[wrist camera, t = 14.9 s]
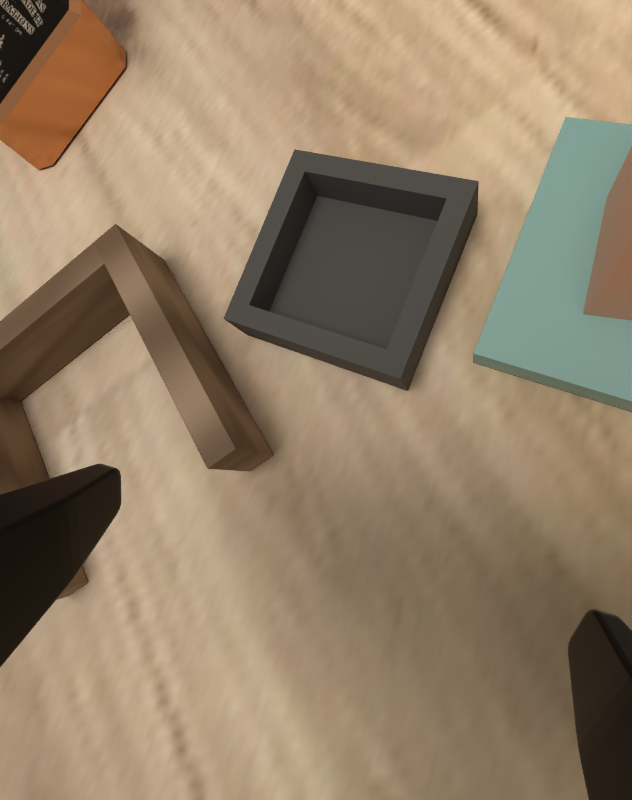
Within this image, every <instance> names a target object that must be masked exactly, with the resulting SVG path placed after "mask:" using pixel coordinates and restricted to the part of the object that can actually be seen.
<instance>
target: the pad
mask: <svg viewBox="0 0 632 800" xmlns="http://www.w3.org/2000/svg"><path fill="white" fill-rule="evenodd" d="M631 147H632V125H630V124H621V123H613V122H604V121H596V120H587V119H578V118H570V117H565V120H564V122H563V125H562V128H561V130H560V133H559V135H558V138H557V140H556V143H555V146H554V148H553V151H552V153H551V156H550V158H549V161H548V164H547V166H546V169H545V171H544V174H543V176H542V179H541V182H540V184H539V187H538V189H537V192H536V194H535V197H534V200H533V202H532V205H531V207H530V210H529V212H528V215H527V218H526V220H525V223H524V225H523V228H522V230H521V233H520V236H519V238H518V241H517V243H516V246H515V248H514V251H513V254H512V256H511V259H510V261H509V264H508V266H507V269H506V272H505V274H504V277H503V279H502V282H501V284H500V287H499V290H498V292H497V295H496V297H495V300H494V302H493V305H492V307H491V310H490V313H489V315H488V318H487V320H486V323H485V325H484V328H483V331H482V333H481V336H480V338H479V341H478V343H477V346H476V349H475V351H474V356H473V363H477V364H480V365H483V366H486V367H489V368H493V369H496V370H499V371H502V372H506V373H509V374H512V375H515V376H519V377H522V378H525V379H528V380H531V381H535V382H538V383H541V384H544V385H548V386H551V387H554V388H557V389H560V390H564V391H567V392H570V393H573V394H577V395H580V396H583V397H586V398H589V399H593V400H596V401H599V402H602V403H606V404H609V405H612V406H615V407H618V408H622V409H625V410H628V411H631V412H632V320H624V319H616V318H608V317H601V316H593V315H585V314H583V311H584V306H585V301H586V296H587V291H588V287H589V282H590V277H591V272H592V267H593V262H594V257H595V252H596V248H597V243H598V238H599V233H600V228H601V223H602V218H603V213H604V209H605V204H606V199H607V196H608V194H609V192H610V190H611V188H612V186H613V184H614V182H615V180H616V177H617V175H618V173H619V171H620V169H621V167H622V165H623V163H624V161H625V159H626V157H627V155H628V153H629V151H630V149H631Z"/></svg>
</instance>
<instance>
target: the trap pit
mask: <svg viewBox="0 0 632 800" xmlns="http://www.w3.org/2000/svg"><path fill="white" fill-rule="evenodd" d="M477 207H478V181H474V180H468V179H462V178H456V177H451V176H445V175H439V174H433V173H427V172H422V171H416V170H410V169H404V168H399V167H393V166H387V165H381V164H375V163H370V162H364V161H358V160H352V159H346V158H341V157H335V156H329V155H323V154H318V153H312V152H306V151H300V150H294V152H293V155H292V157H291V159H290V162H289V164H288V166H287V169H286V171H285V174H284V176H283V178H282V181H281V183H280V186H279V188H278V190H277V193H276V195H275V197H274V200H273V202H272V205H271V207H270V209H269V212H268V214H267V216H266V219H265V221H264V224H263V226H262V228H261V231H260V233H259V236H258V238H257V240H256V243H255V245H254V247H253V250H252V252H251V255H250V257H249V259H248V262H247V264H246V267H245V269H244V271H243V274H242V276H241V278H240V281H239V283H238V286H237V288H236V290H235V293H234V295H233V297H232V300H231V302H230V305H229V307H228V309H227V312H226V314H225V317H224V319H225V320H226V321H228V322H229V323H231V324H232V325H234V326H235V327H237V328H238V329H239V330H241V331H242V332H244V333H245V334H247V335H249V336H252V337H255V338H258V339H261V340H264V341H267V342H270V343H272V344H275V345H278V346H281V347H284V348H287V349H290V350H292V351H295V352H298V353H301V354H304V355H307V356H310V357H313V358H315V359H318V360H321V361H324V362H327V363H330V364H333V365H335V366H338V367H341V368H344V369H347V370H350V371H353V372H356V373H358V374H361V375H364V376H367V377H370V378H373V379H376V380H378V381H381V382H384V383H387V384H390V385H393V386H396V387H399V388H401V389H404V390H408V388H409V385H410V383H411V380H412V378H413V375H414V373H415V370H416V368H417V365H418V363H419V360H420V358H421V355H422V353H423V350H424V347H425V345H426V342H427V340H428V337H429V335H430V332H431V330H432V327H433V325H434V322H435V320H436V317H437V315H438V312H439V309H440V307H441V304H442V302H443V299H444V297H445V294H446V292H447V289H448V287H449V284H450V282H451V279H452V277H453V274H454V272H455V269H456V266H457V264H458V261H459V259H460V256H461V254H462V251H463V249H464V246H465V244H466V241H467V239H468V236H469V234H470V231H471V228H472V226H473V223H474V221H475V218H476V216H477Z"/></svg>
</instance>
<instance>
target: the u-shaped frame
mask: <svg viewBox="0 0 632 800" xmlns="http://www.w3.org/2000/svg"><path fill="white" fill-rule="evenodd" d="M128 315H131V317H132V319H133V321H134V323H135V325H136V327H137V329H138V331H139V333H140V335H141V337H142V339H143V341H144V343H145V345H146V347H147V349H148V351H149V353H150V355H151V357H152V359H153V361H154V363H155V365H156V367H157V369H158V371H159V373H160V375H161V377H162V379H163V381H164V383H165V385H166V387H167V389H168V391H169V393H170V395H171V397H172V399H173V401H174V403H175V405H176V407H177V409H178V411H179V413H180V415H181V417H182V419H183V421H184V423H185V425H186V427H187V429H188V431H189V433H190V435H191V437H192V439H193V441H194V443H195V445H196V447H197V449H198V451H199V453H200V455H201V457H202V459H203V461H204V463H205V464H206V466H207V468H208V469H221V470H236V471H251V470H252V469H254V468H255V467H257V466H258V465H260V464H261V463H262V462H264V461H265V460H267V459H268V458H270V457H271V456H273V453H272V451H271V450H270V448H269V446H268V444H267V442H266V441H265V439H264V437H263V435H262V434H261V432H260V430H259V428H258V426H257V425H256V423H255V421H254V419H253V418H252V416H251V414H250V412H249V410H248V409H247V407H246V405H245V403H244V401H243V400H242V398H241V396H240V394H239V393H238V391H237V389H236V387H235V385H234V384H233V382H232V380H231V378H230V377H229V375H228V373H227V371H226V369H225V368H224V366H223V364H222V362H221V361H220V359H219V357H218V355H217V353H216V352H215V350H214V348H213V346H212V344H211V343H210V341H209V339H208V337H207V336H206V334H205V332H204V330H203V328H202V327H201V325H200V323H199V321H198V320H197V318H196V316H195V314H194V312H193V311H192V309H191V307H190V305H189V303H188V302H187V300H186V298H185V296H184V295H183V293H182V291H181V289H180V287H179V286H178V284H177V282H176V280H175V279H174V277H173V275H172V273H171V271H170V270H169V268H168V266H167V264H166V263H165V261H164V260H163V259H162V258H161V257H159V256H158V255H157V254H155V253H154V252H153V251H151V250H150V249H149V248H147V247H146V246H145V245H143V244H142V243H141V242H139V241H138V240H137V239H135V238H134V237H132V236H131V235H130V234H128V233H127V232H126V231H124V230H123V229H122V228H120V227H119V226H118V225H116V224H115V225H114V226H112V227H111V228H110V229H109V230H108V231H107V232H105V233H104V234H103V235H102V236H101V237H99V238H98V239H97V240H96V241H95V242H94V243H92V244H91V245H90V246H89V247H88V248H86V249H85V250H84V251H83V252H82V253H81V254H79V255H78V256H77V257H76V258H75V259H73V260H72V261H71V262H70V263H69V264H67V265H66V266H65V267H64V268H63V269H62V270H60V271H59V272H58V273H57V274H56V275H54V276H53V277H52V278H51V279H50V280H49V281H47V282H46V283H45V284H44V285H43V286H41V287H40V288H39V289H38V290H37V291H36V292H34V293H33V294H32V295H31V296H30V297H28V298H27V299H26V300H25V301H24V302H22V303H21V304H20V305H19V306H18V307H17V308H15V309H14V310H13V311H12V312H11V313H9V314H8V315H7V316H6V317H5V318H4V319H2V320H1V321H0V494H3V493H6V492H9V491H13V490H16V489H19V488H22V487H25V486H29V485H32V484H35V483H38V482H41V481H45V480H48V479H49V476H48V474H47V471H46V468H45V466H44V463H43V460H42V458H41V455H40V452H39V450H38V447H37V444H36V442H35V439H34V436H33V434H32V431H31V428H30V426H29V423H28V420H27V418H26V415H25V412H24V410H23V407H22V404H21V401H22V400H23V399H24V398H26V397H27V396H28V395H29V394H31V393H32V392H33V391H34V390H36V389H37V388H38V387H39V386H41V385H42V384H43V383H44V382H46V381H47V380H48V379H49V378H51V377H52V376H53V375H54V374H56V373H57V372H58V371H59V370H61V369H62V368H63V367H65V366H66V365H67V364H68V363H70V362H71V361H72V360H73V359H75V358H76V357H77V356H78V355H80V354H81V353H82V352H83V351H85V350H86V349H87V348H88V347H90V346H91V345H92V344H93V343H95V342H96V341H97V340H98V339H100V338H101V337H102V336H103V335H105V334H106V333H107V332H108V331H110V330H111V329H112V328H113V327H115V326H116V325H117V324H118V323H120V322H121V321H122V320H123V319H125V318H126V317H127V316H128ZM87 583H88V580H87V578H86V575H85V572H84V570H83V567H81V568H80V570H79V571H78V573H77V574H76V575H75V577H74V578H73V579H72V581H71V582H70V583H69V584H68V586H67V587H66V588H65V589H64V591H63V592H62V593H61V594H60V596H59V597H58V598H57V599H60V598H64V597H67V596H69V595H71V594H72V593H73V592H75V591H76V590H78V589H79V588H81V587H82V586H84V585H85V584H87Z"/></svg>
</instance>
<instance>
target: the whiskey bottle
mask: <svg viewBox="0 0 632 800" xmlns="http://www.w3.org/2000/svg"><path fill="white" fill-rule="evenodd" d="M125 67H126V51H125V49H124V48H123V47H122V46H121V45H120V44H119V42H118V41H117V40H116V39H115V38H114V36H113V35H112V34H111V33H110V32H109V30H108V29H107V28H106V27H105V26H104V25H103V23H102V22H101V21H100V20H99V19H98V17H97V16H96V15H95V14H94V13H93V12H92V10H91V9H90V8H89V7H88V6H87V4H86V3H85V2H84V1H83V0H0V140H1V141H3V142H4V143H5V144H6V145H8V146H9V147H10V148H12V149H13V150H14V151H15V152H17V153H18V154H19V155H20V156H22V157H23V158H24V159H25V160H27V161H28V162H29V163H31V164H32V165H33V166H34V167H36V168H37V169H42V168H45V167H48V166H52V165H53V164H54V163H55V161H56V160H57V159H58V157H59V156H60V155H61V153H62V152H63V150H64V149H65V148H66V146H67V145H68V144H69V142H70V141H71V140H72V138H73V137H74V136H75V134H76V133H77V132H78V130H79V129H80V128H81V126H82V125H83V123H84V122H85V121H86V119H87V118H88V117H89V115H90V114H91V113H92V111H93V110H94V109H95V107H96V106H97V105H98V103H99V102H100V101H101V99H102V98H103V96H104V95H105V94H106V92H107V91H108V90H109V88H110V87H111V86H112V84H113V83H114V82H115V80H116V79H117V78H118V76H119V75H120V74H121V72H122V71H123V70H124V68H125Z"/></svg>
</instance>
